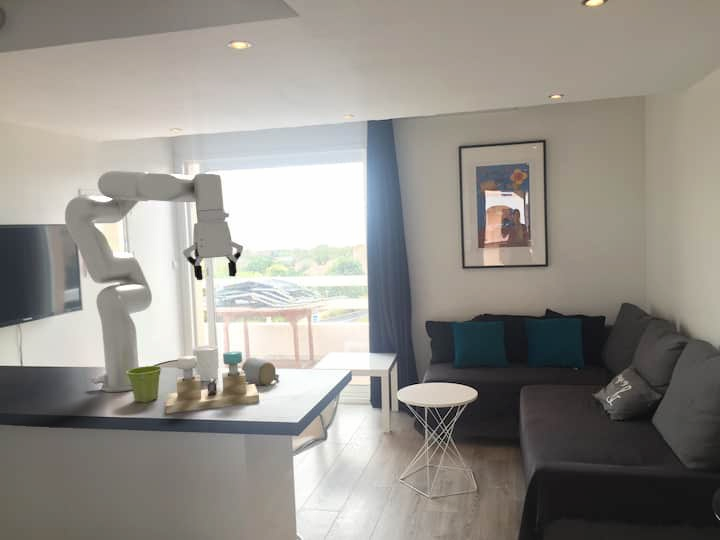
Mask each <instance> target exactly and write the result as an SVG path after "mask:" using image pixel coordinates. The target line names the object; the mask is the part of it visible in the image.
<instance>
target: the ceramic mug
mask: <svg viewBox="0 0 720 540" xmlns="http://www.w3.org/2000/svg"><path fill="white" fill-rule="evenodd" d="M243 370H244V372H245V375H246V384H255V385H258V386H269V385H270V384H272V383H273V381H274V380H276V381H278V380H279V377H280V375H279V374H277V373H276V372H277V371H276V367H275V365H274V364H273V363H272V362H269V361H267V360H263V359H259V358H256V357H249V358H247V359H246V360H245V361H244V363H243V364H242V367H241V371H243ZM268 384H269V385H268Z"/></svg>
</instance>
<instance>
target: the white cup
mask: <svg viewBox="0 0 720 540" xmlns="http://www.w3.org/2000/svg"><path fill="white" fill-rule="evenodd" d="M192 356H196V357H197V367H195V368H194V373H195V376H196V375H200V382H209V380H210V379H214V380H217V379H219V347H218V346H217V345H214V344H213V345H212V344H208V345H200V346H195V347H193V348H192Z"/></svg>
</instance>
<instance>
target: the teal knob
mask: <svg viewBox="0 0 720 540" xmlns="http://www.w3.org/2000/svg"><path fill="white" fill-rule="evenodd" d="M222 357H223V358H222V360H223V364H224V365H228V372H229V376H233V375H238V371H239V367H238V365H239V364H240V363H243V353H242V351H239V350H237V351H234V350H233V351H227V352H223V353H222Z"/></svg>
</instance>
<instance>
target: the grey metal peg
mask: <svg viewBox="0 0 720 540" xmlns="http://www.w3.org/2000/svg"><path fill="white" fill-rule="evenodd" d="M215 381H216V379H210V380H209V381H208V383H206V384H207V389H208V395H209V396H212V395H216V394H217V388H218V387H217V382H215Z"/></svg>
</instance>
